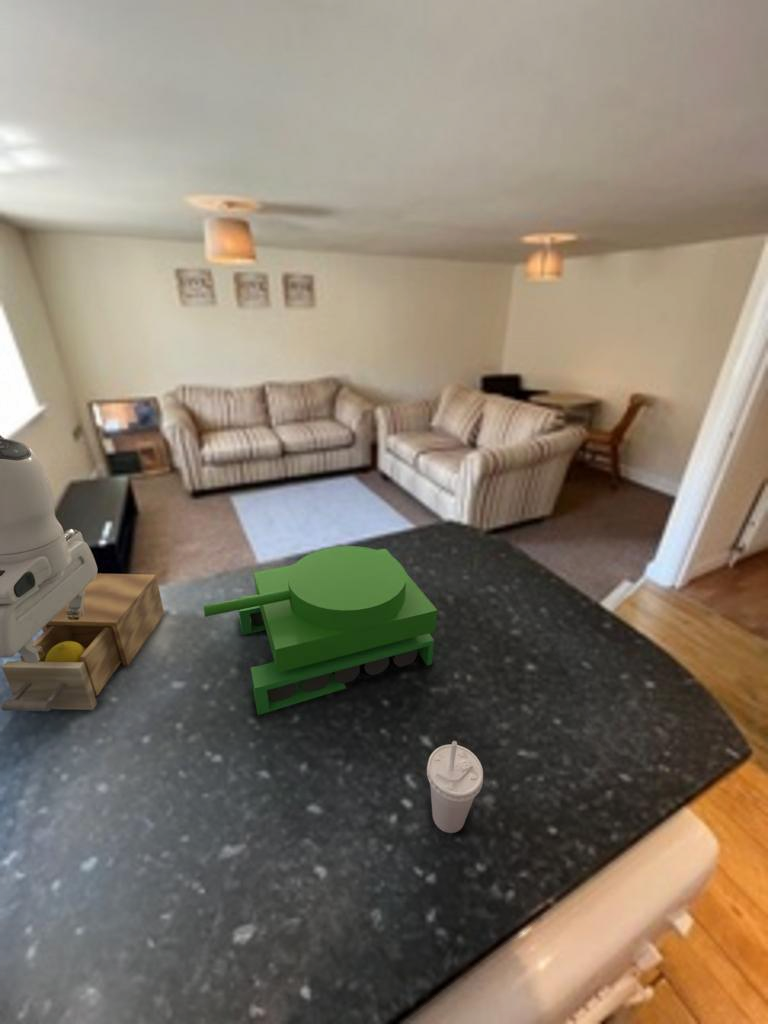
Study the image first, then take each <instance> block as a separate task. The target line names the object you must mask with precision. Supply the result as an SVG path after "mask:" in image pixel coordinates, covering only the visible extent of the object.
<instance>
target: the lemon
mask: <svg viewBox="0 0 768 1024" xmlns="http://www.w3.org/2000/svg"><path fill="white" fill-rule="evenodd" d="M84 651H85V648H84V647H83V646H82V645H81V644H79V643H77V642H73V641H66V642H62V643H59V644H57V645H55V646H54V647H52V648H51V649H50V650H49V652H48V653H47V655H46V658H45V662H81V659H80V656H81V655H82V653H83V652H84Z"/></svg>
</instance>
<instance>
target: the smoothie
mask: <svg viewBox="0 0 768 1024" xmlns="http://www.w3.org/2000/svg"><path fill="white" fill-rule="evenodd" d="M426 776H427V779H428V782H429V786H430V802H431V813H432V816H431V817H432V820H433V822H434V824H435V826H436V827H437V828H438V829H439V830H441V831H442V832H444V833H448V834H455V833H457V832H459V831H461V829H463V827H464V825H465V822H466V820H467V818H468V814H469V812H470V809H471V807H472V804H473V802H474V800H475V797H476V796H477V795H479V793H480V791H481V789H482V787H483V782H484V770H483V766H482V763H481V761H480V760H479V759H478V757H477V755H475V753H473V752H472V751H471V750H469V749H468V748H466V747H464V746H461V745H458V742H457V741H456V740H453V741H452V742H451V744H444V745H441V746H439V747H437V748H436V749H434V750H433V751H432V753H430V755H429V758H428V760H427V766H426Z"/></svg>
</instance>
